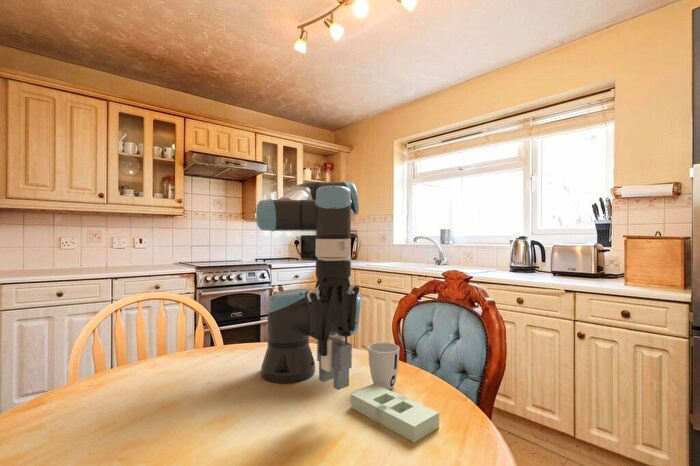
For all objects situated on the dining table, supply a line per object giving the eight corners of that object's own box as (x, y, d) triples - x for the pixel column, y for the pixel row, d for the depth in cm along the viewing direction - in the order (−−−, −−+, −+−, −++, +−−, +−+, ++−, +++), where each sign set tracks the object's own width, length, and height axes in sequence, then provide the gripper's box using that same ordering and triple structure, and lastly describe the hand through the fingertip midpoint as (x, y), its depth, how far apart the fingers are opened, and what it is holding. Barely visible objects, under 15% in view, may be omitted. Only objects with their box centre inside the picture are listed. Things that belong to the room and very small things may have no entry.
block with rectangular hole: (351, 407, 79) (351, 394, 79) (375, 396, 84) (375, 384, 84) (414, 442, 65) (414, 426, 65) (439, 427, 70) (439, 412, 70)
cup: (398, 394, 85) (398, 353, 85) (365, 391, 87) (365, 351, 87) (400, 380, 93) (400, 343, 93) (370, 378, 95) (370, 341, 95)
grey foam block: (316, 378, 76) (317, 337, 76) (327, 375, 78) (327, 335, 78) (340, 391, 70) (340, 346, 70) (351, 386, 72) (351, 343, 72)
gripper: (312, 262, 66) (312, 384, 67) (372, 257, 77) (372, 363, 77) (291, 259, 72) (291, 372, 72) (349, 255, 83) (349, 353, 83)
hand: (333, 367), depth 75 cm, fingers closed on grey foam block, 3 cm apart
